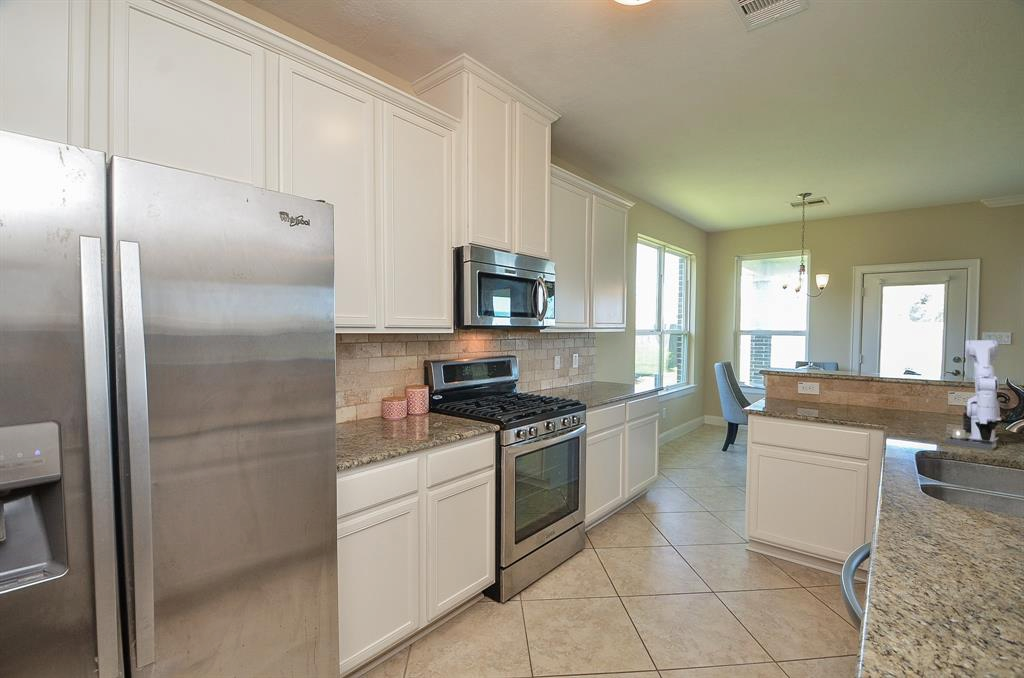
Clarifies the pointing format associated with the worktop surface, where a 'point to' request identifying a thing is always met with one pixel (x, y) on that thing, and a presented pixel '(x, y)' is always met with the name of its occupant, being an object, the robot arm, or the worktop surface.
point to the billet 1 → (959, 434)
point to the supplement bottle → (966, 422)
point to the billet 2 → (991, 436)
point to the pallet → (972, 443)
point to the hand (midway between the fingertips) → (986, 439)
